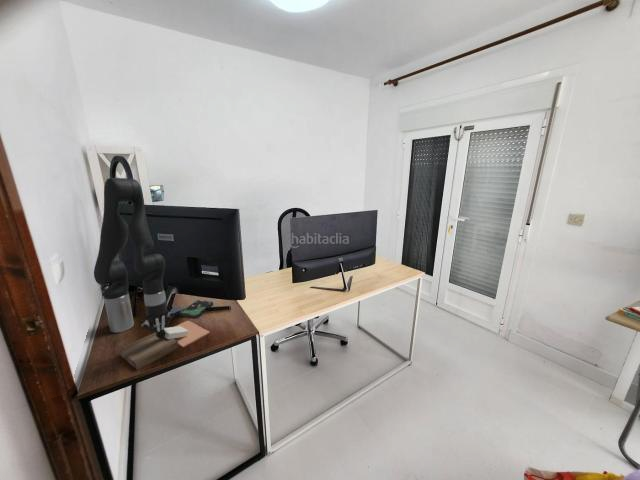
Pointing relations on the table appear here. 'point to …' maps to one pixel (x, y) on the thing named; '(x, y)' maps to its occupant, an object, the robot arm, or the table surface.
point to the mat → (191, 333)
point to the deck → (147, 350)
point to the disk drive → (196, 309)
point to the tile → (175, 332)
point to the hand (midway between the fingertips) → (160, 337)
